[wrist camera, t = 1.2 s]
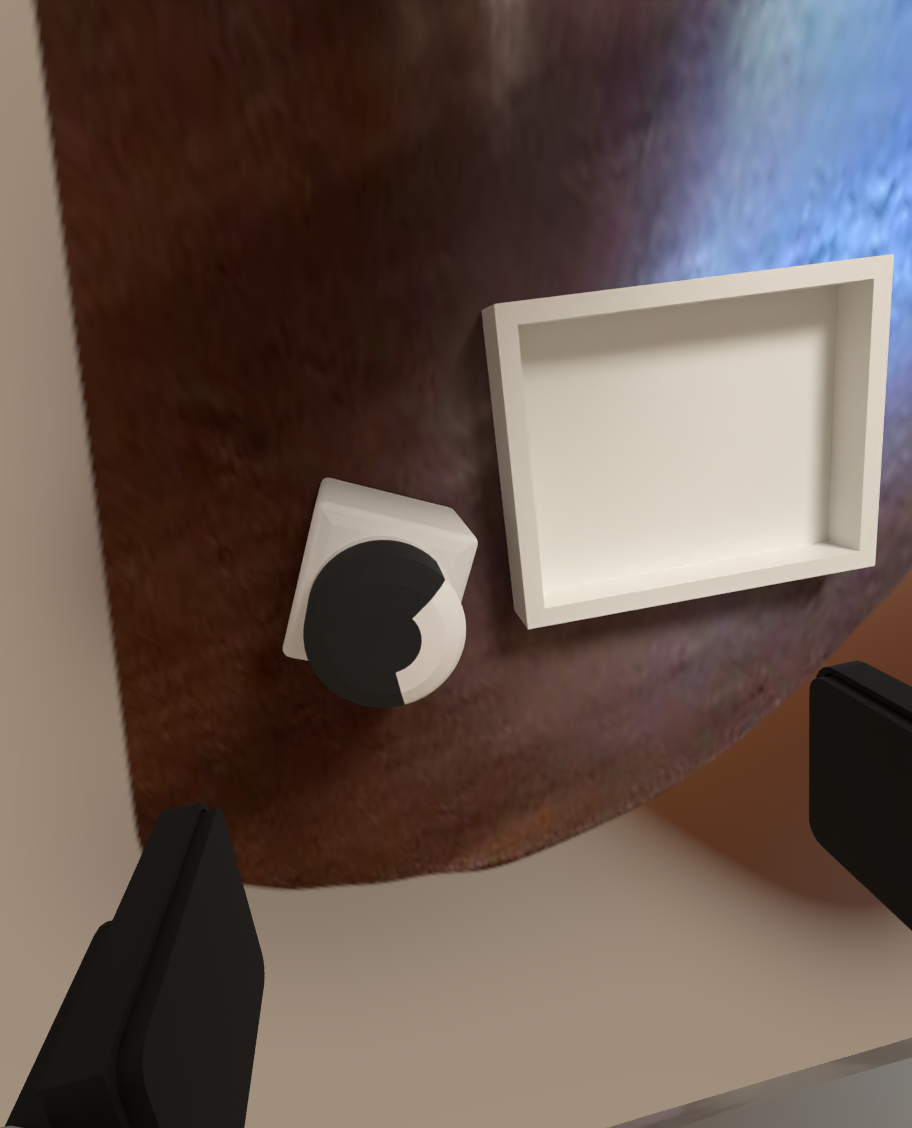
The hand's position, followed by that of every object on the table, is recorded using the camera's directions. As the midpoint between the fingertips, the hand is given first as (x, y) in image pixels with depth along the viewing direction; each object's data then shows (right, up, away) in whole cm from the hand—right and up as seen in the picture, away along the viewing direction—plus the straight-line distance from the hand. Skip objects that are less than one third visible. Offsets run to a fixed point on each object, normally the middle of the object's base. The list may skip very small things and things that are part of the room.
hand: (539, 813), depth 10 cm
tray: (+11, +10, +26) cm, 30 cm away
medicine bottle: (-6, +4, +25) cm, 26 cm away
